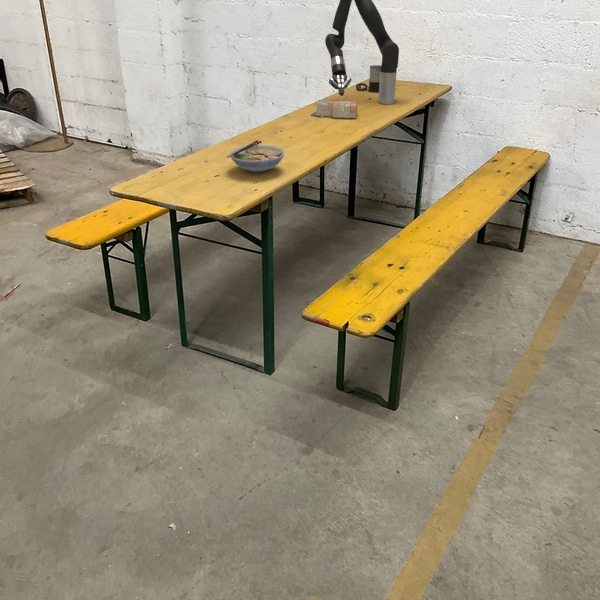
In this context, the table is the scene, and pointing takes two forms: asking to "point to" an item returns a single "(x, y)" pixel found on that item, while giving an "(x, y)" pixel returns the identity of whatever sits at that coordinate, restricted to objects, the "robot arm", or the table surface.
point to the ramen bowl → (257, 156)
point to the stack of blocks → (337, 108)
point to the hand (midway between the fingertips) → (342, 94)
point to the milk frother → (372, 80)
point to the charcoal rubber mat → (326, 116)
